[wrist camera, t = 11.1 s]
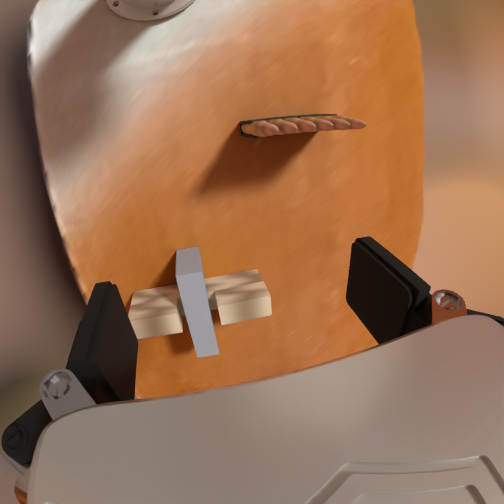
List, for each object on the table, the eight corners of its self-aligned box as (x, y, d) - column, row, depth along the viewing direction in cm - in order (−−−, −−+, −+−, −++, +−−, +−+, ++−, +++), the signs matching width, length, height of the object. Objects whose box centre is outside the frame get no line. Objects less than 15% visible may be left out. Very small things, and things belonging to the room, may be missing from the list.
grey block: (176, 250, 38) (175, 276, 32) (198, 246, 39) (202, 271, 32) (194, 326, 44) (197, 357, 38) (213, 322, 44) (219, 354, 38)
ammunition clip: (241, 136, 34) (267, 142, 23) (239, 121, 33) (264, 120, 22) (321, 127, 35) (374, 133, 25) (320, 114, 34) (372, 115, 24)
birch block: (139, 308, 40) (134, 339, 34) (133, 291, 39) (126, 321, 33) (259, 286, 43) (271, 314, 37) (257, 268, 42) (270, 295, 36)
